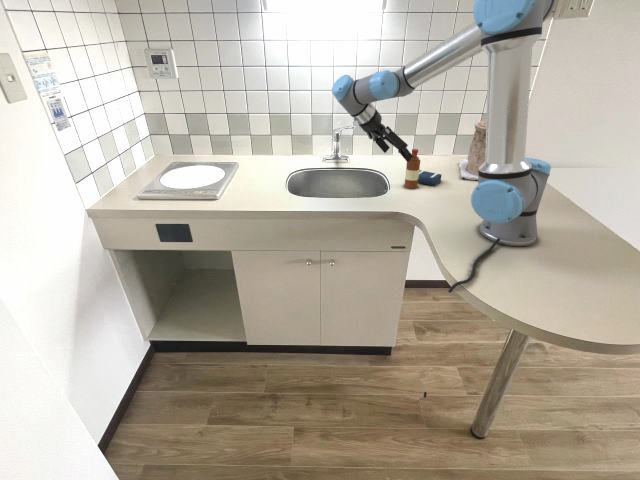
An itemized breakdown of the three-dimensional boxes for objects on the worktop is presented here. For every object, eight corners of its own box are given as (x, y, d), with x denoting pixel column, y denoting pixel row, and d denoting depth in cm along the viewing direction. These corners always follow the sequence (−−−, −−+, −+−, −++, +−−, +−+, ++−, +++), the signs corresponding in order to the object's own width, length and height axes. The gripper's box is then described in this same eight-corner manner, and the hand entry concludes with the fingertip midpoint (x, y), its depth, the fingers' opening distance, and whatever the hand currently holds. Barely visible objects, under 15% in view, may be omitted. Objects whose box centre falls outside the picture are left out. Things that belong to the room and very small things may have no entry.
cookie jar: (459, 180, 146) (475, 98, 130) (458, 162, 166) (471, 90, 151) (524, 185, 139) (549, 100, 124) (515, 167, 160) (535, 92, 144)
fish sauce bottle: (413, 190, 137) (418, 152, 130) (401, 187, 140) (406, 150, 132) (419, 186, 141) (424, 149, 133) (407, 183, 143) (411, 147, 136)
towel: (433, 187, 139) (434, 179, 138) (410, 182, 145) (411, 174, 143) (440, 181, 145) (441, 174, 143) (417, 177, 150) (418, 169, 148)
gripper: (341, 119, 127) (372, 154, 140) (381, 132, 107) (413, 171, 121) (353, 102, 126) (384, 139, 139) (397, 113, 107) (427, 154, 120)
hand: (398, 154), depth 130 cm, fingers open, 13 cm apart
